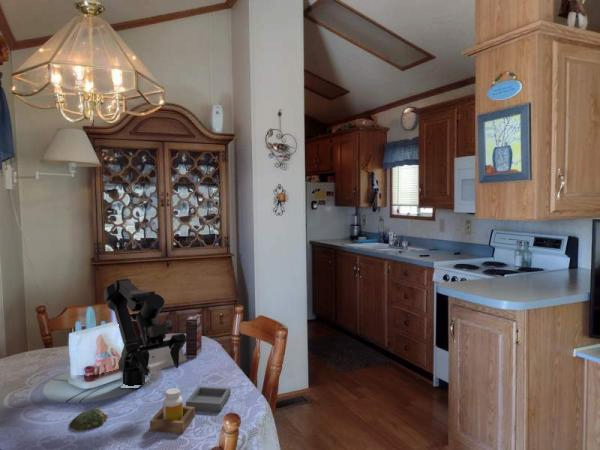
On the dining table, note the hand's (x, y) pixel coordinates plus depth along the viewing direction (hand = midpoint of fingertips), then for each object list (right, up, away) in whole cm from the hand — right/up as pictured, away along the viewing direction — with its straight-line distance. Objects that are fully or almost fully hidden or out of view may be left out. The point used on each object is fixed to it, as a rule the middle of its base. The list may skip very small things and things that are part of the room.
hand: (162, 371), depth 127 cm
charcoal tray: (+12, -13, +8) cm, 19 cm away
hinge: (-13, -11, +40) cm, 44 cm away
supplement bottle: (+5, -14, -5) cm, 15 cm away
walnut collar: (+5, -13, -5) cm, 15 cm away
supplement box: (-3, -11, +51) cm, 52 cm away
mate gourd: (-25, -11, +47) cm, 54 cm away
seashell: (-20, -14, -4) cm, 25 cm away
